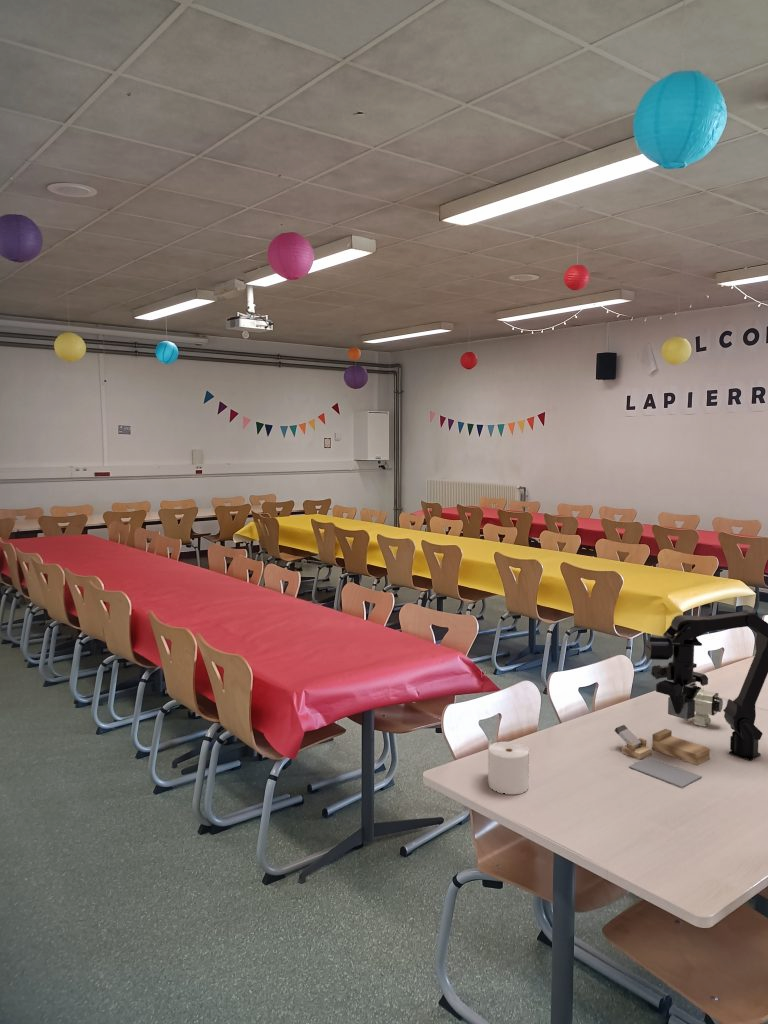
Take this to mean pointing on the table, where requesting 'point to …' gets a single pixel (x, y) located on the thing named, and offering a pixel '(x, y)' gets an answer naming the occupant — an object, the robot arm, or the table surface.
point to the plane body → (679, 747)
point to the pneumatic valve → (706, 707)
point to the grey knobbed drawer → (683, 709)
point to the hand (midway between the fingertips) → (681, 711)
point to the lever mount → (637, 750)
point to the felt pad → (665, 772)
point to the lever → (628, 736)
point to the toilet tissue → (508, 767)
